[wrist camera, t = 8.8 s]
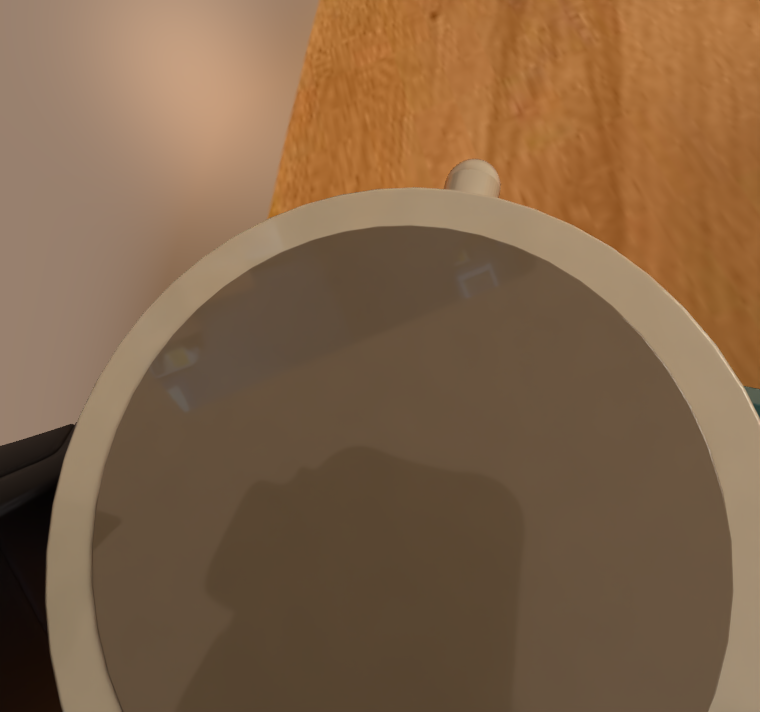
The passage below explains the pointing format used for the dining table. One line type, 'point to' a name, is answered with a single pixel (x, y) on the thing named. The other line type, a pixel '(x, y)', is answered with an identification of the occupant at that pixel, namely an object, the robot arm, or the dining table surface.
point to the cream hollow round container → (410, 479)
